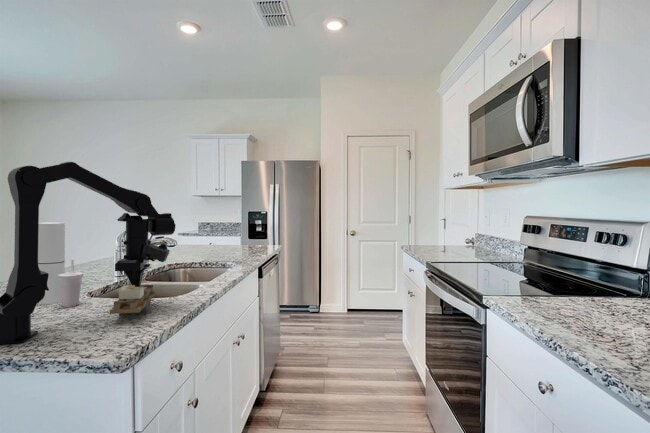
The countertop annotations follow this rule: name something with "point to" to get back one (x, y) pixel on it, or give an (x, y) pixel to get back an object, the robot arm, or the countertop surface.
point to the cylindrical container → (51, 258)
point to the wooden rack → (135, 304)
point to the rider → (131, 293)
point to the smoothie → (70, 286)
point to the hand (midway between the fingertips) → (137, 290)
